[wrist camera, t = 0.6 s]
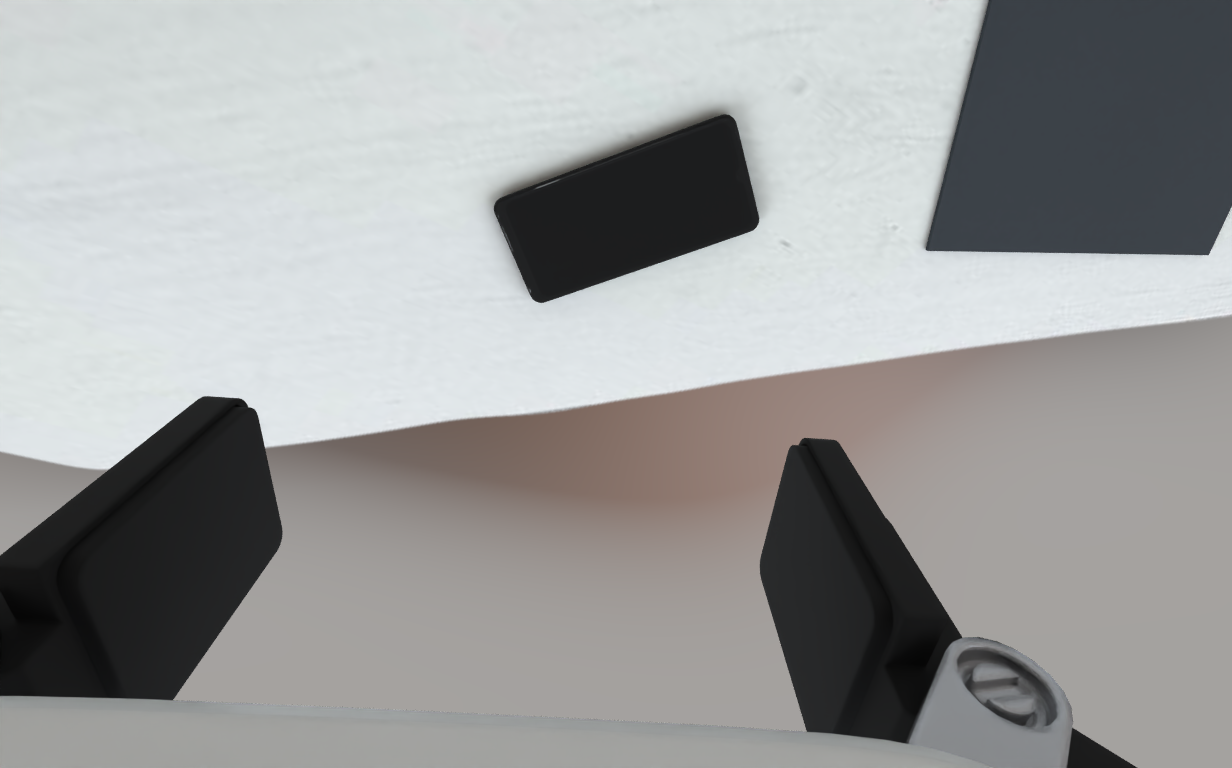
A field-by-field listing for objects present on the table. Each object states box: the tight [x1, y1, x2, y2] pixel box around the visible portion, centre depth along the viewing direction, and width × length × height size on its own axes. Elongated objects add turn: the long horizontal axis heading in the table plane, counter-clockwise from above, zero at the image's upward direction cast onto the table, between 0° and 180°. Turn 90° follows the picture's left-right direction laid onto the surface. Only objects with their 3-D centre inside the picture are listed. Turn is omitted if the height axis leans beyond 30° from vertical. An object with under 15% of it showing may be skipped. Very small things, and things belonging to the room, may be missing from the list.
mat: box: [926, 0, 1232, 255], centre depth 34 cm, size 20×18×1 cm
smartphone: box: [494, 114, 759, 303], centre depth 36 cm, size 7×1×15 cm
